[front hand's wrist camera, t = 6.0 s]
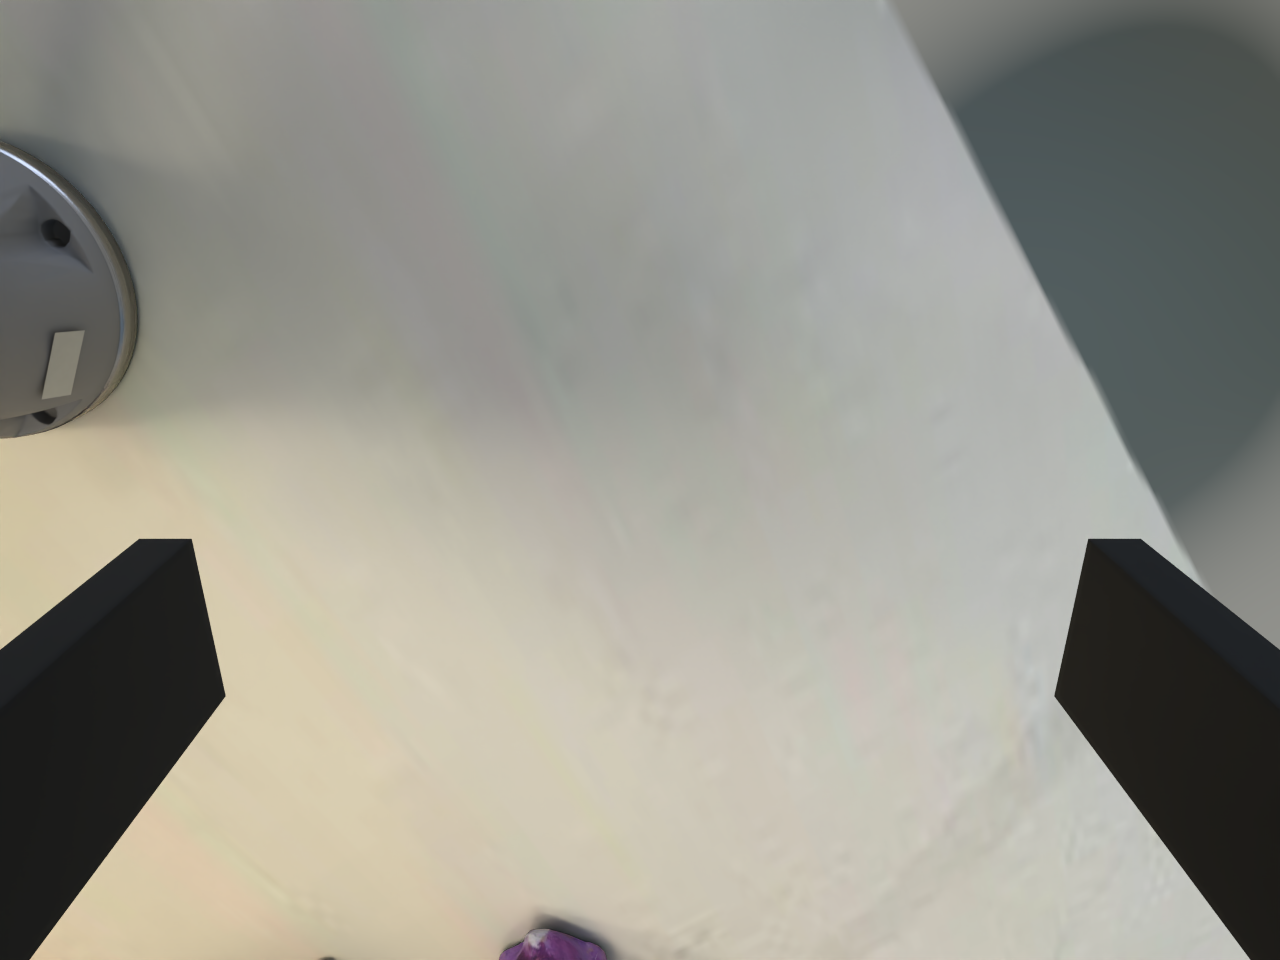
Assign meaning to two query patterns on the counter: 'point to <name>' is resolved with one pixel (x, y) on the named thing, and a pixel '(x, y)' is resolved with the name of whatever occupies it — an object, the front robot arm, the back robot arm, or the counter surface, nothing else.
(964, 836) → the counter surface
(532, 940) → the figurine
